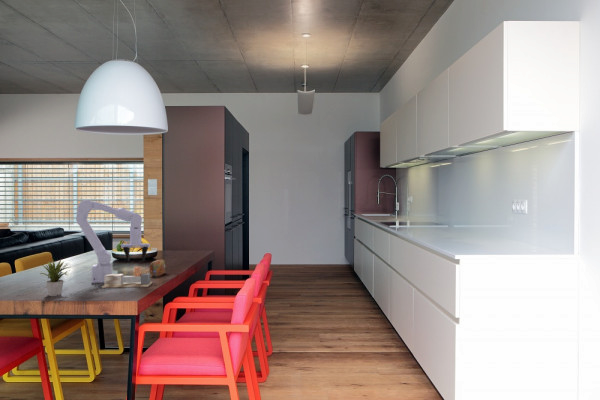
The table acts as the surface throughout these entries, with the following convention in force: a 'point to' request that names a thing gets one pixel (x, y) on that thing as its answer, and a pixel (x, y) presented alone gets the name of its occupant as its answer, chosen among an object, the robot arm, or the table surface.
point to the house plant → (55, 278)
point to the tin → (157, 267)
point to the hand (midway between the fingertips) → (135, 261)
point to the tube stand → (119, 282)
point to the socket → (145, 278)
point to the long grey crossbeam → (133, 277)
